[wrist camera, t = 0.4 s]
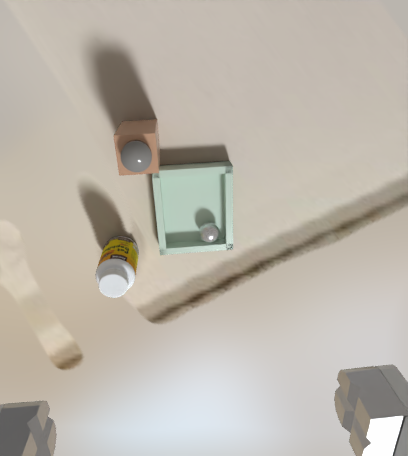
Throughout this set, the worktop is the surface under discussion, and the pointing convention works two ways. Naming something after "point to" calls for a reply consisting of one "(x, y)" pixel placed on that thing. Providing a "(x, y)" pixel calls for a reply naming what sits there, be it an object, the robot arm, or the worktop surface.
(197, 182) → the tray
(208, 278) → the worktop surface
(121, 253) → the supplement bottle
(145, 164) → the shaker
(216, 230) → the mixing ball
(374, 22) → the worktop surface
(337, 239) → the worktop surface
